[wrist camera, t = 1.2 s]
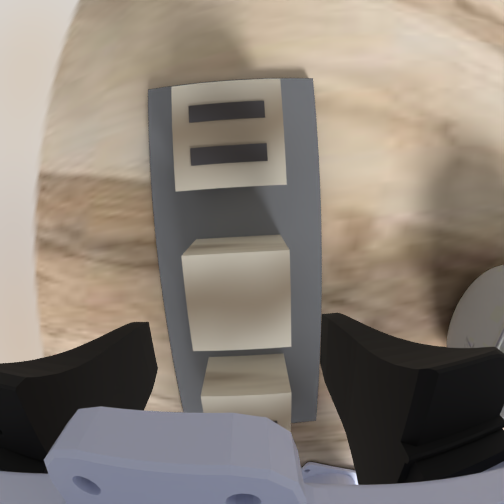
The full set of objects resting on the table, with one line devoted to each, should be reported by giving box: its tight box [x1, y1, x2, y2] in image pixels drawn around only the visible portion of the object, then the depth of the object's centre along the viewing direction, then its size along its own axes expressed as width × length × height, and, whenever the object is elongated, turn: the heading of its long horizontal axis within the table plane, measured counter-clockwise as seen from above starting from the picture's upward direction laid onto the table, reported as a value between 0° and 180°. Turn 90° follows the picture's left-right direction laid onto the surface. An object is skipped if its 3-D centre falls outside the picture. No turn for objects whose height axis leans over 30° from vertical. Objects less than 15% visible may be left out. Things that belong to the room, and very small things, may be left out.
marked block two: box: [171, 79, 287, 192], centre depth 16 cm, size 5×5×5 cm
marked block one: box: [201, 353, 291, 432], centre depth 19 cm, size 5×5×5 cm
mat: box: [148, 78, 322, 423], centre depth 20 cm, size 24×10×1 cm, turn 3°
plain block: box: [181, 235, 291, 351], centre depth 18 cm, size 5×5×4 cm
